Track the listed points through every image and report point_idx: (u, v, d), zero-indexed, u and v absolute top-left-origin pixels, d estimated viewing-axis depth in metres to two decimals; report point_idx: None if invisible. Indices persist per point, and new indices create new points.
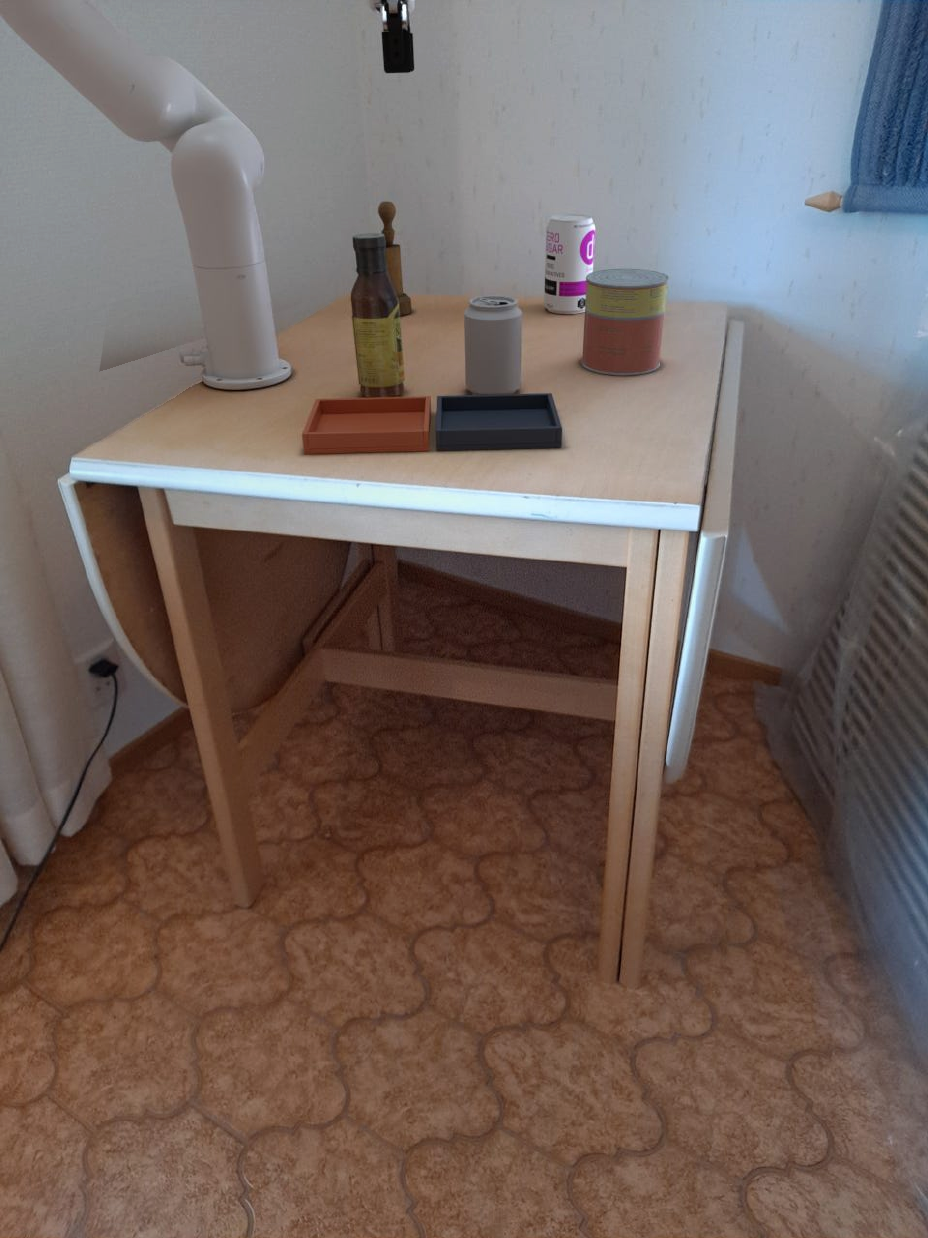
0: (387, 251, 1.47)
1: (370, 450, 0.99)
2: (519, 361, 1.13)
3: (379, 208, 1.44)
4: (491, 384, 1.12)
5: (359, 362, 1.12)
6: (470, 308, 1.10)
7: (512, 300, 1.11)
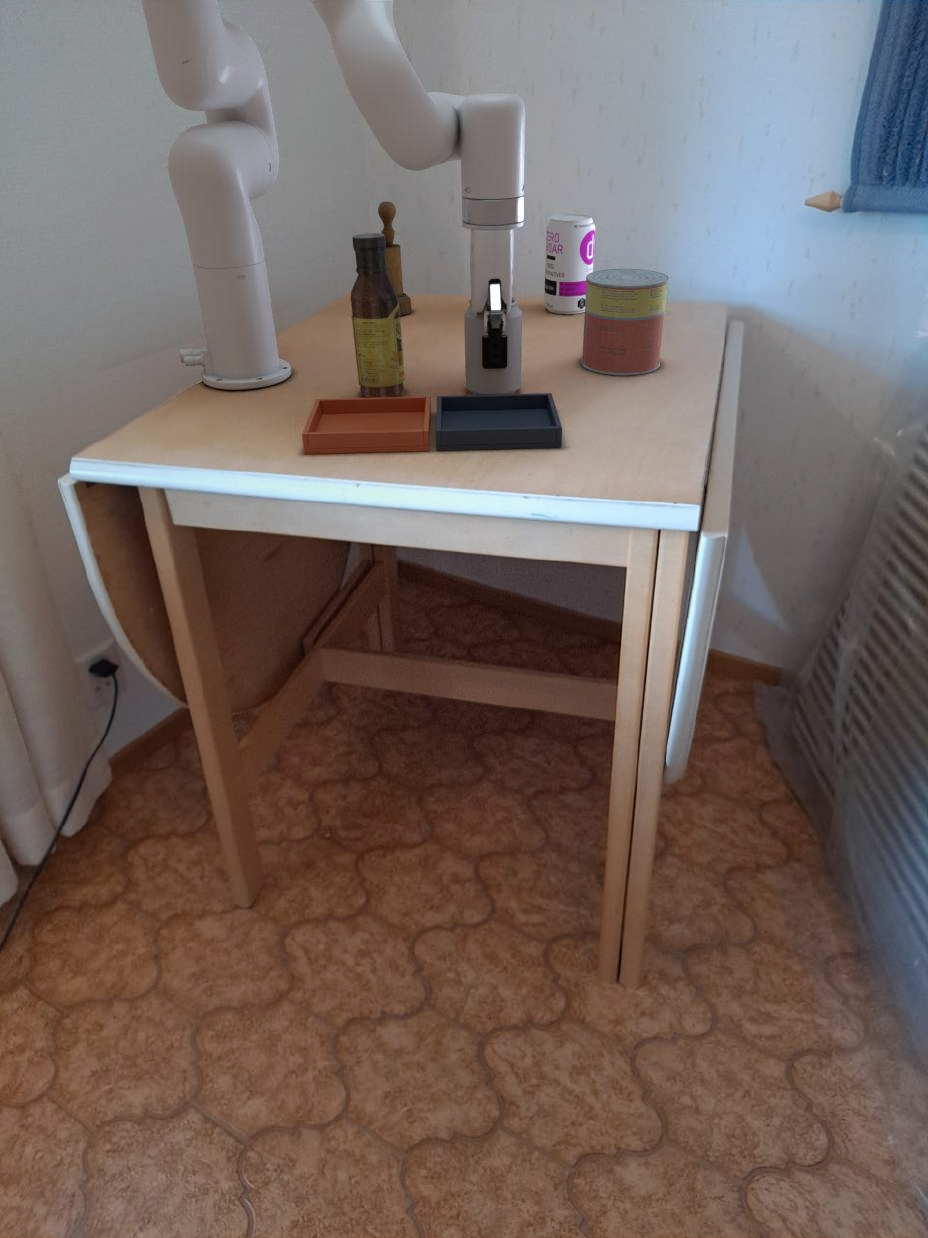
0: (387, 251, 1.47)
1: (370, 450, 0.99)
2: (519, 361, 1.13)
3: (379, 208, 1.44)
4: (491, 384, 1.12)
5: (359, 362, 1.12)
6: (470, 308, 1.10)
7: (512, 300, 1.11)
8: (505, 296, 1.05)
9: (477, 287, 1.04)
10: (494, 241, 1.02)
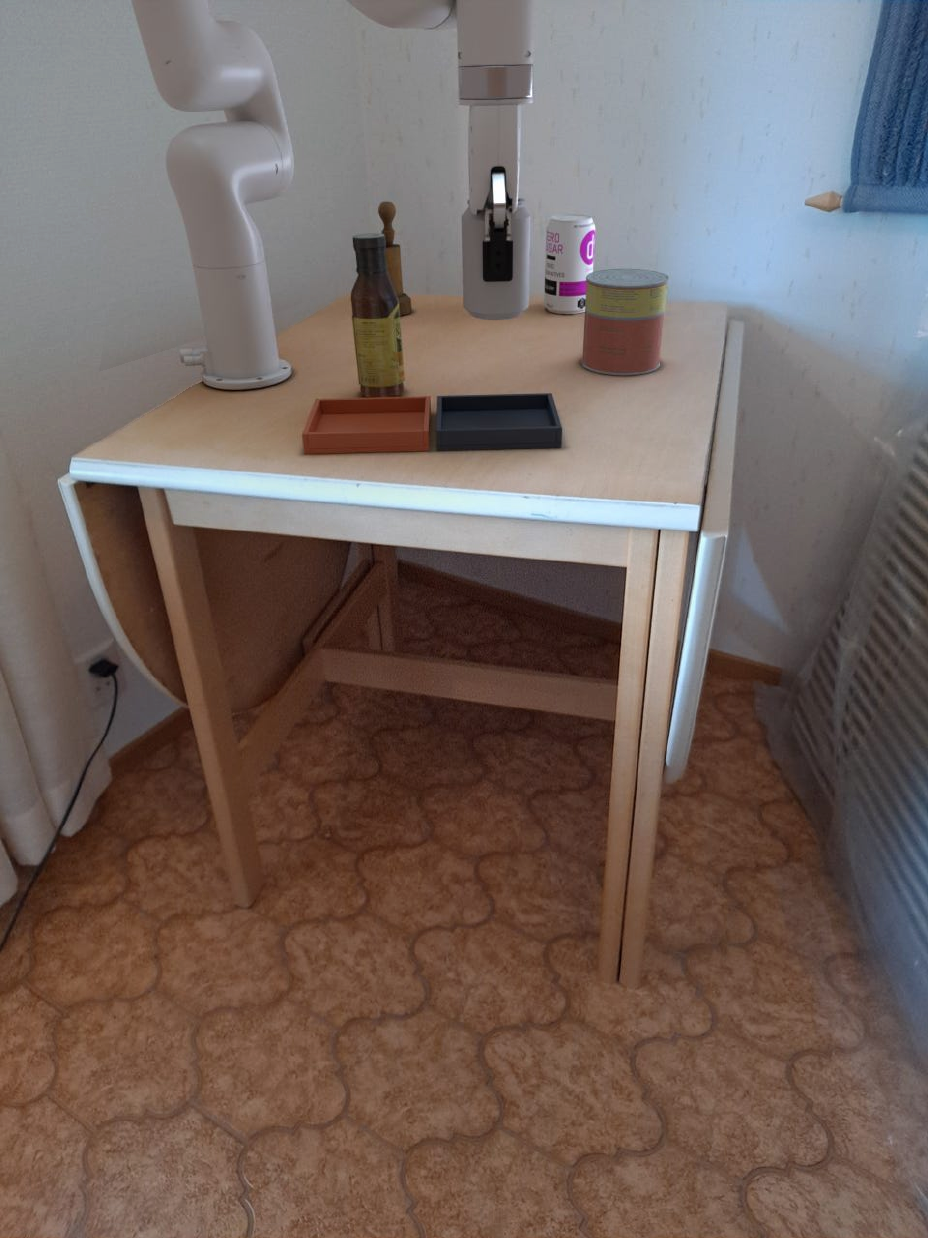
0: (387, 251, 1.47)
1: (370, 450, 0.99)
2: (527, 275, 0.95)
3: (379, 208, 1.44)
4: (493, 301, 0.94)
5: (359, 362, 1.12)
6: (469, 209, 0.92)
7: (519, 200, 0.93)
8: (510, 189, 0.87)
9: (477, 177, 0.87)
10: (497, 118, 0.84)
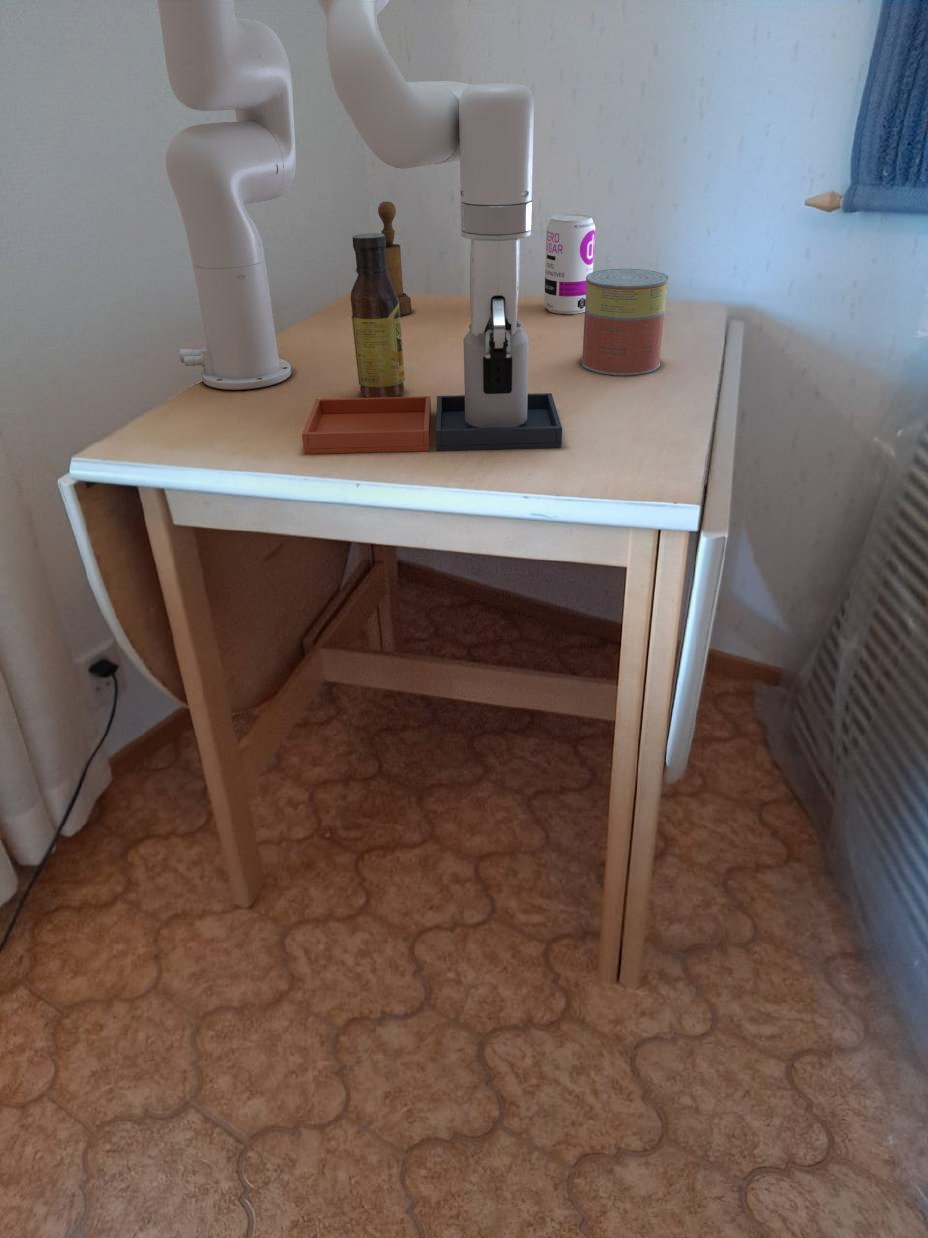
0: (387, 251, 1.47)
1: (370, 450, 0.99)
2: (525, 392, 1.00)
3: (379, 208, 1.44)
4: (493, 418, 1.00)
5: (359, 362, 1.12)
6: (470, 334, 0.97)
7: (517, 324, 0.98)
8: (510, 310, 0.92)
9: (478, 305, 0.92)
10: (497, 253, 0.89)
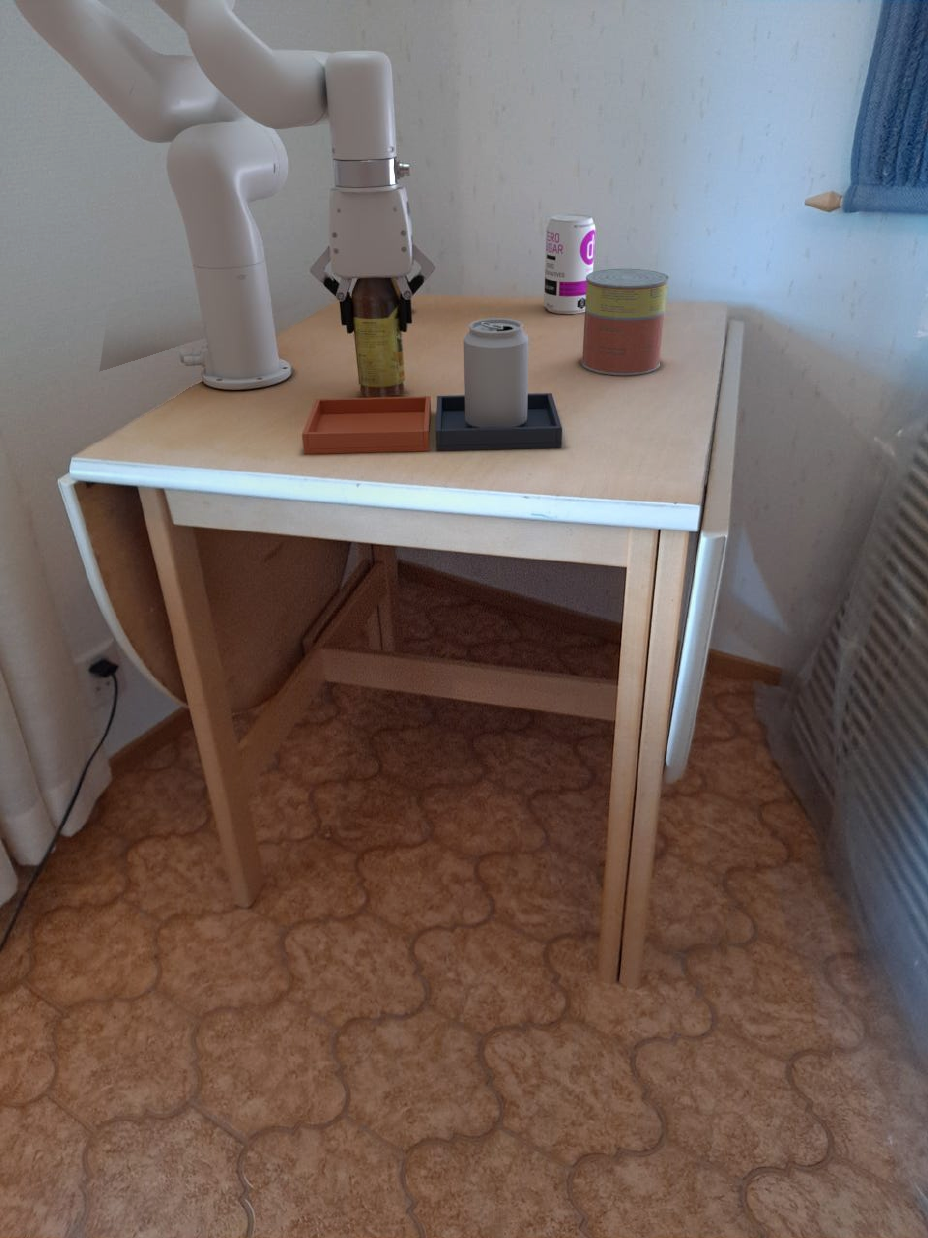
0: None
1: (370, 450, 0.99)
2: (525, 392, 1.00)
3: None
4: (493, 418, 1.00)
5: (359, 362, 1.12)
6: (470, 334, 0.97)
7: (517, 324, 0.98)
8: (331, 259, 1.06)
9: None
10: None
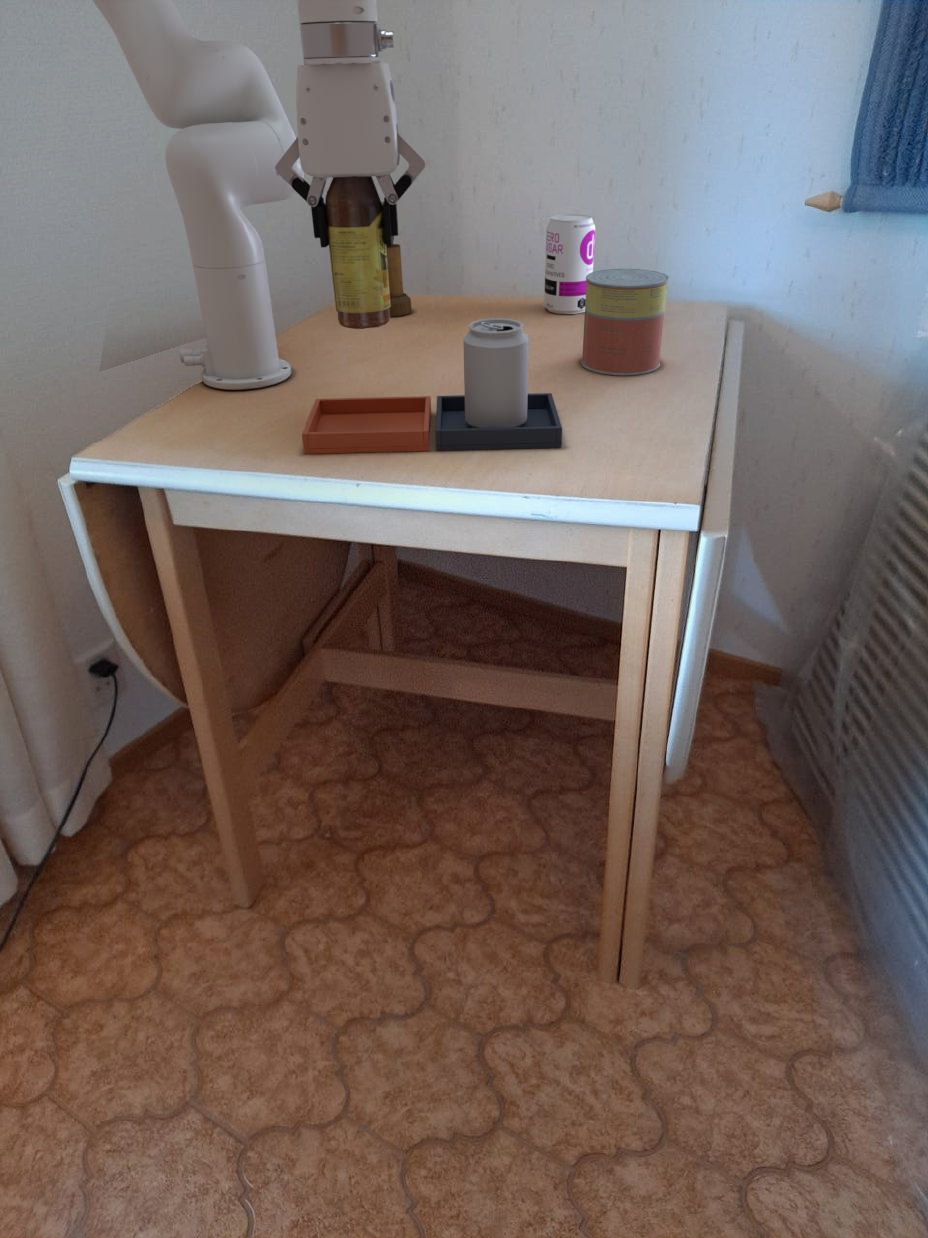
0: (387, 251, 1.47)
1: (370, 450, 0.99)
2: (525, 392, 1.00)
3: None
4: (493, 418, 1.00)
5: (336, 282, 0.94)
6: (470, 334, 0.97)
7: (517, 324, 0.98)
8: None
9: None
10: None
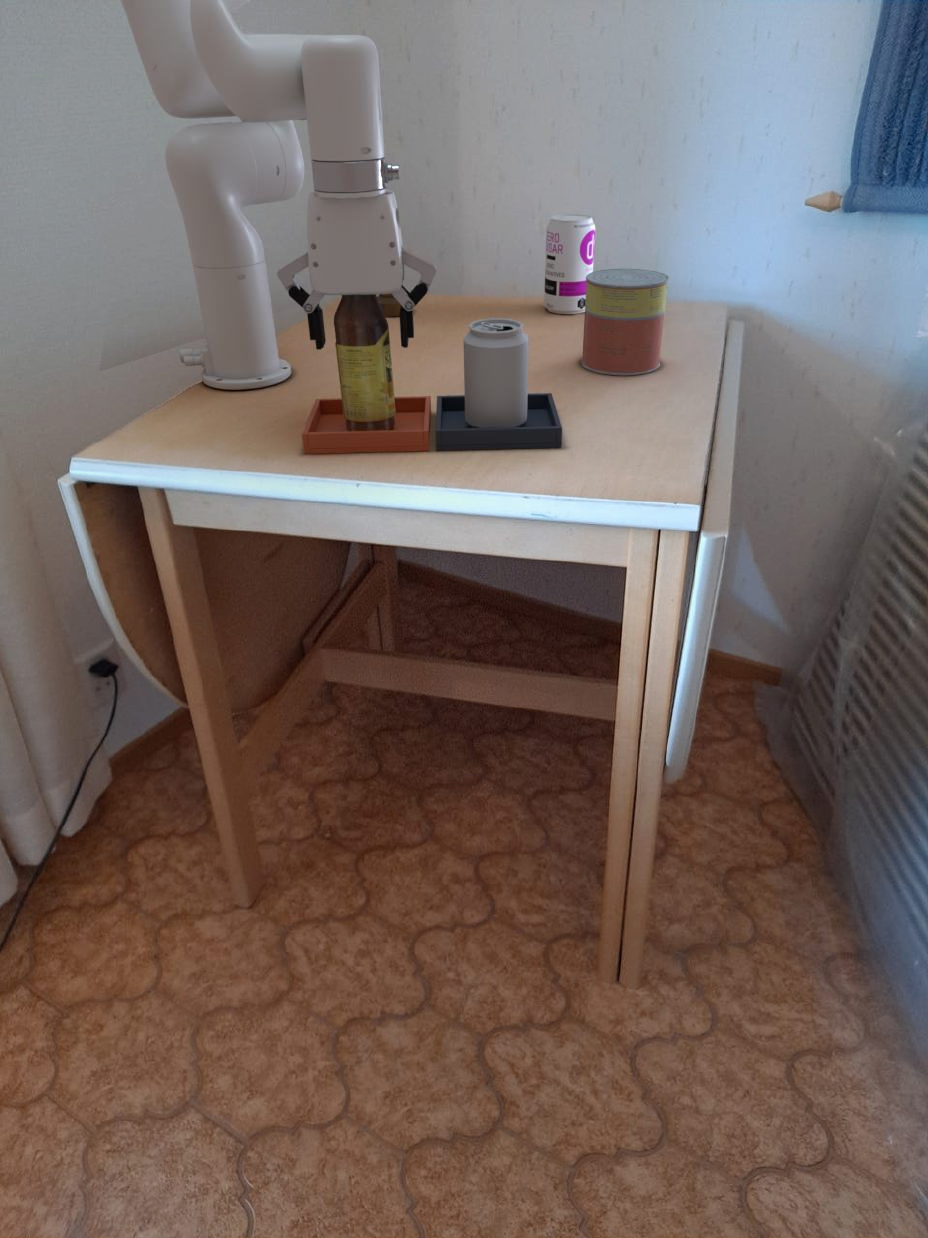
0: None
1: (370, 450, 0.99)
2: (525, 392, 1.00)
3: None
4: (493, 418, 1.00)
5: (344, 394, 1.00)
6: (470, 334, 0.97)
7: (517, 324, 0.98)
8: (308, 265, 0.93)
9: None
10: None
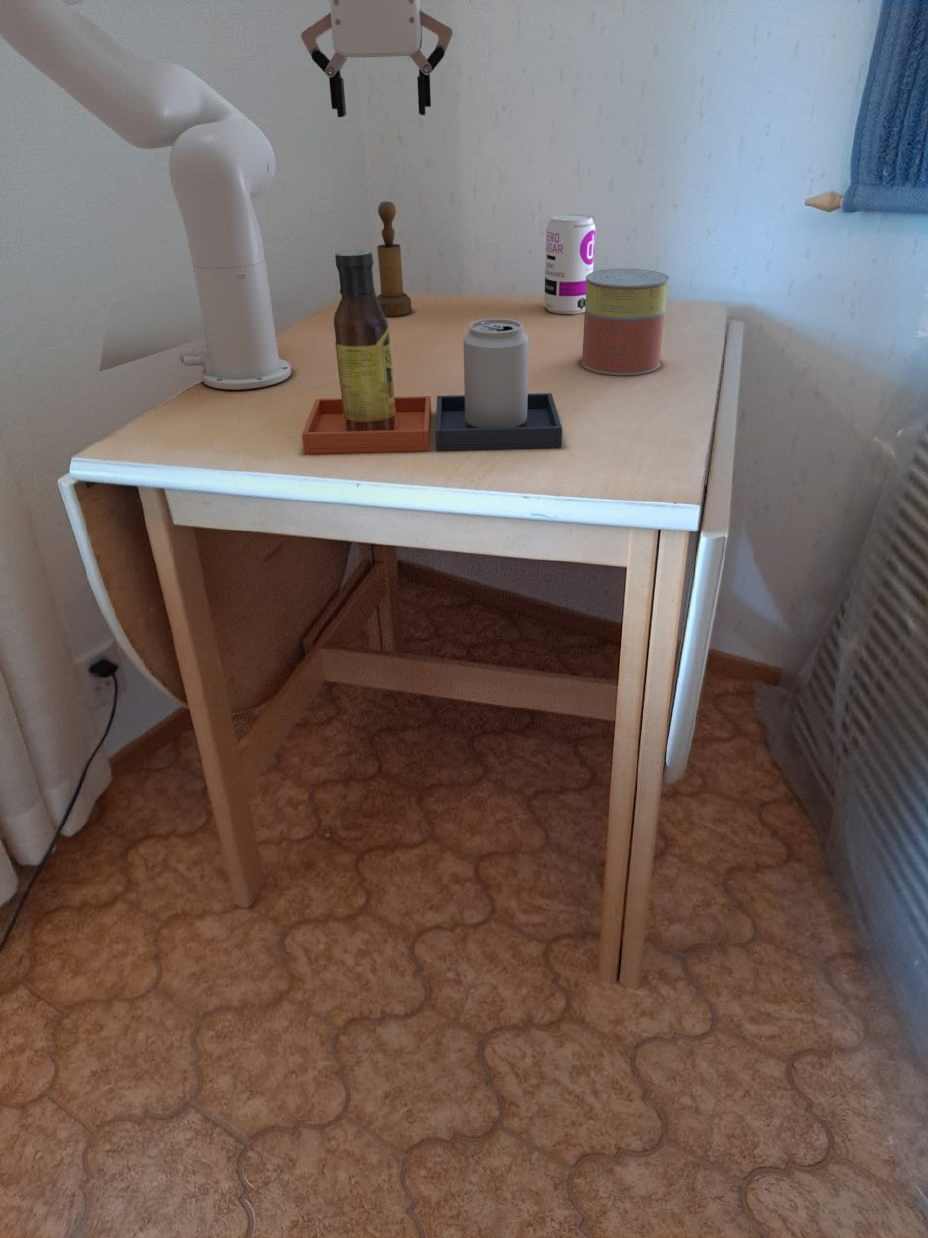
0: (387, 251, 1.47)
1: (370, 450, 0.99)
2: (525, 392, 1.00)
3: (379, 208, 1.44)
4: (493, 418, 1.00)
5: (344, 394, 1.00)
6: (470, 334, 0.97)
7: (517, 324, 0.98)
8: (330, 25, 0.97)
9: None
10: None
